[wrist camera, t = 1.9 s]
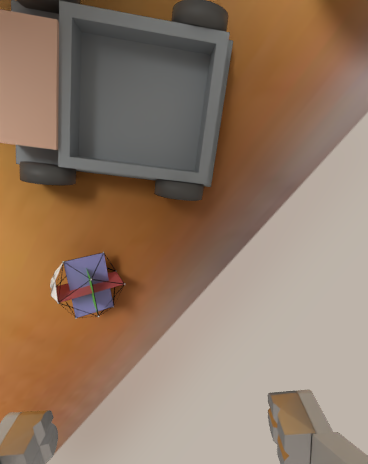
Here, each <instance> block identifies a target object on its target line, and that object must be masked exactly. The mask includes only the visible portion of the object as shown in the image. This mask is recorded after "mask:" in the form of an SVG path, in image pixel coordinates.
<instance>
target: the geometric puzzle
mask: <svg viewBox="0 0 368 464" xmlns="http://www.w3.org/2000/svg"><path fill="white" fill-rule="evenodd" d="M104 254H105V253H104V252H103V253H99V254H95V255H90V256H86V257H82V258H77V259H73V260H69V261H63V263H64V267H65V271H66V276H67V280H68V284H64V285H61V282H62V281H61V282H60V283H59V284H60V286H58V285H59V284H58V285H56V282H55V280H56V278H57V275H58V273H59V271H60V268H61V266H63V265H62V264H63V263H62V264H61V265H60V266H59V267H58V269H57V270H56V271H55V272H54V274H53V275H54V277H52V279H51V284H50V287H51V288H52V292H51V296H52V297H53V298H54V299H55V300H56V301H57V303H58V304H61V303H59V302H63V301H67V300H70V299H72V302H73V307H74V311H75V315H74V317H75V319H76V318H78V317H81V318H85V317H82V316H85V315H88V314H91V313H94V312H97V314H98V311H101V310H103V311H104V309H107V308H110V309H111V307H114V305H115V304H114V299H113V301H112V295H111V290H110V288H113V287H114V294H115V287H116V286H120V285H123V284H124V282H123V281H122V279H121V278H120V276H119V275H118V273H117V271H116V270H115V269H114V270H113V271H115V272H111V273H107V269H109V268H107V267H106V262H105V256H106V255H105V256H104ZM107 259H108V258H107ZM109 262H110V261H109ZM111 265H112V264H111ZM112 267H113V266H112ZM113 268H114V267H113ZM61 269H62V271H63V268H61ZM110 270H112V269H110ZM59 276H60V275H59ZM66 276H65V277H66ZM58 279H59V278H58ZM61 279H62V275H61ZM57 283H58V282H57ZM124 285H125V284H124ZM124 285H123V286H122V287H124ZM122 289H123V288H122ZM56 290H57V292H56ZM120 290H121V289H120ZM120 290H119V291H120ZM119 291H118V292H119ZM121 291H122V290H121ZM118 292H117V293H118ZM120 293H121V292H120ZM119 295H120V294H119ZM115 296H116V295H115ZM115 296H114V297H115ZM114 297H113V298H114ZM118 297H119V296H118ZM117 299H118V298H117ZM116 301H117V300H116ZM66 303H67V302H66ZM115 303H116V302H115ZM62 305H64V304H62ZM67 305H68V304H67ZM67 305H65V306H67ZM62 307H63V306H62ZM68 307H69V308H70V306H69V305H68ZM73 307H71V308H73ZM63 308H64V307H63ZM71 308H70V309H71ZM71 311H72V310H71ZM103 311H102V312H103ZM107 311H108V310H107ZM68 312H69V311H68ZM102 312H101V313H102ZM69 313H70V312H69ZM72 313H73V312H72ZM101 313H100V314H101ZM104 313H105V312H104ZM73 314H74V313H73ZM92 315H94V314H92ZM101 315H102V314H101ZM99 316H100V315H99V314H98V316H97V315H95V317H99Z"/></svg>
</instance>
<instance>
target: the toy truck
mask: <svg viewBox="0 0 368 464" xmlns="http://www.w3.org/2000/svg"><path fill="white" fill-rule="evenodd" d="M227 23H228V13H227V12H226V10H225V9H224V8H222V7H221V6H219V5H217V4H215V3H213V2H210V1H206V0H183V1H180V2H178V3H176V4H175V5H174V7H173V12H172V21H166V20H161V19H156V18H150V17H145V16H140V15H134V14H129V13H124V12H119V11H113V10H108V9H103V8H97V7H92V6H87V5H81V4H80V0H17V1H15V0H11V11H7V10H2V9H0V143H6V144H14V145H16V164H20V180H22V181H24V182H29V183H35V184H45V185H73V184H76V171H81V172H89V173H98V174H106V175H114V176H123V177H131V178H139V179H148V180H156V183H155V194H156V195H158V196H162V197H166V198H171V199H178V200H189V201H197V200H202V195H203V188H204V186H206V187H211V183H212V176H213V170H214V163H215V157H216V150H217V143H218V137H219V130H220V124H221V117H222V111H223V104H224V98H225V91H226V84H227V78H228V71H229V65H230V58H231V52H232V45H233V41H232V40H229V34H230V32H226V30H227Z"/></svg>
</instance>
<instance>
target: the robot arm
mask: <svg viewBox="0 0 368 464" xmlns="http://www.w3.org/2000/svg"><path fill="white" fill-rule="evenodd" d="M268 403H269V406H270V409H269V410H268V419H269V426H270V431H271V434H272V437H273V441H274V442H275V443H276V444H277V453H278V458H279V461H280V464H368V455H366V454H365V453H364V452H362V451H361V450H360V449H359V448H357V447H356V446H355V445H353V444H352V443H351V442H350V441H348V440H347V439H346V438H345V437H343V436H342V435H341V434H339V433H338V432H333V431H332V429H331V427H330V425H329V423H328V421H327V419H326V417H325V415H324V414H323V412H322V410H321V408H320V406H319V404H318V402H317V400H316V399H315V397H314V395H313V393H312V392H311V391H310V390H301V391H286V392H275V393H269V394H268ZM52 419H53V415H52V412H51V411H27V412H11V413H8V414H7V415H6V416H5V417H4V418H3V420H2V421H1V423H0V464H46V463H47V462H48V461H49V460H50V459H51V458H52V457H53V455H54V452H55V450H56V446H57V441H58V431H57V428H56V426H55V425H54V424H52V423H51V422H52Z"/></svg>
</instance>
